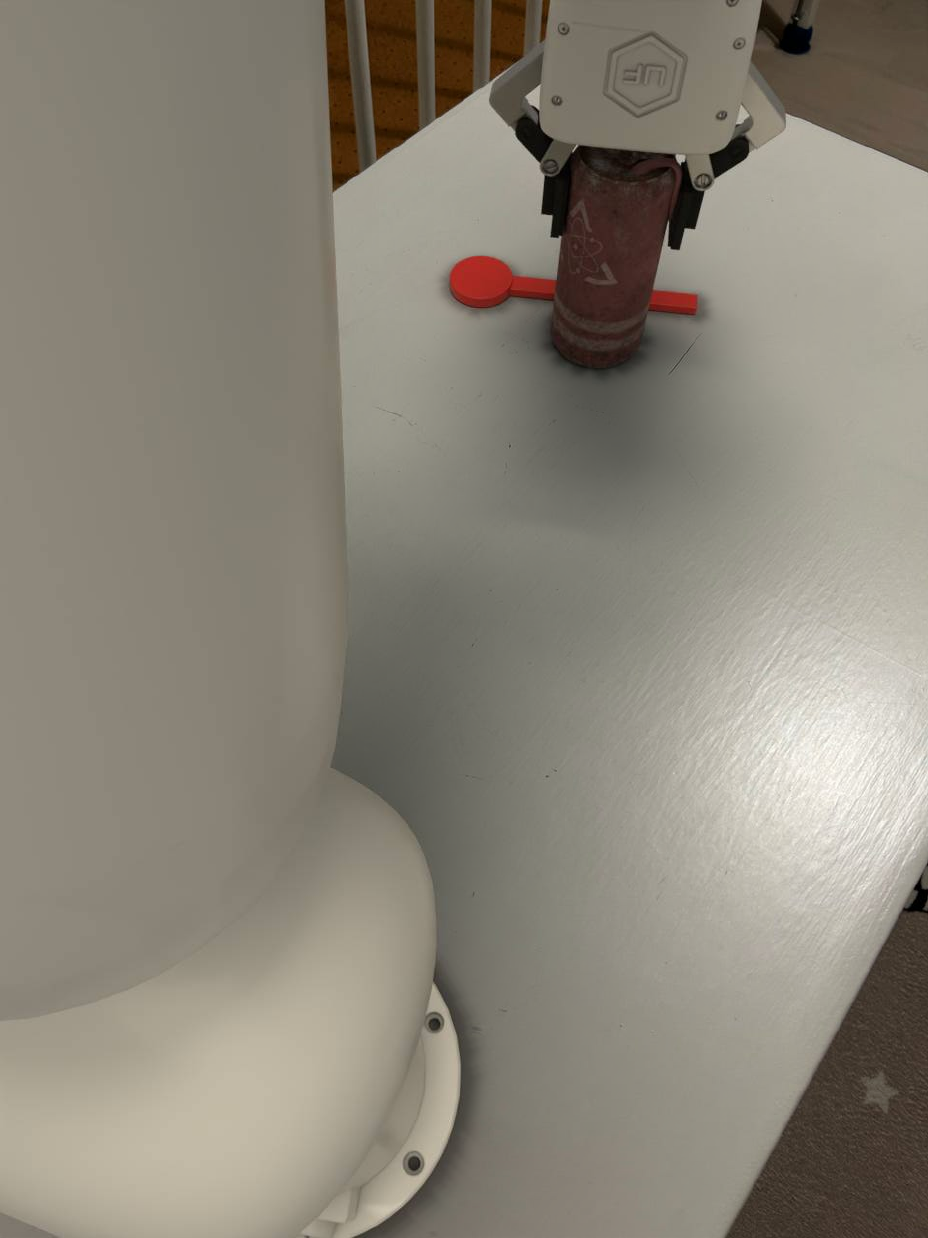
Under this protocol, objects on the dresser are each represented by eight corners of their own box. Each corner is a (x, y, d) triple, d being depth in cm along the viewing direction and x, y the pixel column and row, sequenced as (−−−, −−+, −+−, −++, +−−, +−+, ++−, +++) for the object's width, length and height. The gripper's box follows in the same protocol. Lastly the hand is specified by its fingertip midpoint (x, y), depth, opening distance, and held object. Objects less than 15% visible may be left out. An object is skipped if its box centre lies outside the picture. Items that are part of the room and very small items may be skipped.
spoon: (696, 285, 68) (698, 276, 68) (694, 330, 66) (697, 321, 65) (454, 261, 69) (454, 252, 69) (445, 304, 67) (445, 295, 67)
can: (638, 379, 64) (682, 191, 52) (543, 364, 64) (564, 175, 52) (648, 315, 67) (692, 123, 55) (557, 301, 67) (580, 109, 55)
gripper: (466, -93, 41) (463, 256, 57) (882, -61, 40) (763, 286, 56) (488, -173, 45) (480, 175, 60) (869, -146, 44) (761, 202, 59)
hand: (616, 226), depth 58 cm, fingers closed on can, 6 cm apart
